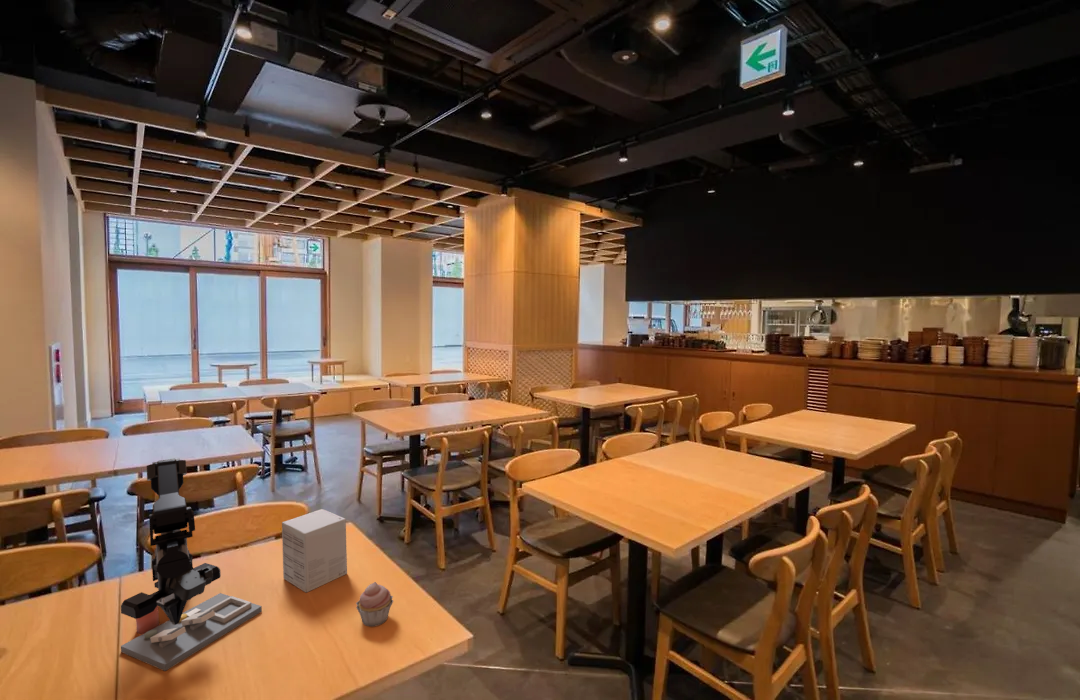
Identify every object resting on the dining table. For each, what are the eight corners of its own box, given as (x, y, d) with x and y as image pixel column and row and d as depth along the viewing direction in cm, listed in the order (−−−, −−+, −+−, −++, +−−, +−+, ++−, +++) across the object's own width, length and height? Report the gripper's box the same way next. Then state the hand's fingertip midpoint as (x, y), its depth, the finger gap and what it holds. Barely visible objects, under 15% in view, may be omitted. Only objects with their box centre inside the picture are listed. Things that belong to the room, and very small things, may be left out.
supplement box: (323, 561, 160) (322, 507, 159) (348, 573, 152) (346, 518, 151) (282, 578, 149) (280, 521, 148) (306, 593, 142) (304, 533, 140)
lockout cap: (132, 631, 124) (131, 609, 124) (152, 621, 129) (150, 600, 128) (143, 635, 123) (142, 613, 122) (163, 625, 127) (161, 604, 126)
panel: (121, 652, 117) (120, 641, 117) (220, 598, 139) (220, 588, 139) (165, 671, 111) (164, 659, 111) (261, 611, 133) (261, 601, 133)
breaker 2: (181, 626, 124) (179, 621, 124) (196, 617, 127) (195, 612, 128) (200, 623, 121) (199, 617, 121) (216, 614, 124) (214, 609, 124)
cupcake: (401, 614, 132) (401, 578, 131) (376, 634, 124) (375, 596, 123) (374, 605, 136) (373, 570, 135) (348, 624, 128) (347, 587, 127)
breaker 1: (150, 643, 117) (148, 637, 118) (167, 634, 121) (165, 628, 121) (170, 640, 114) (168, 634, 114) (187, 630, 118) (185, 625, 118)
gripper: (150, 587, 104) (153, 658, 105) (234, 548, 121) (237, 609, 122) (117, 575, 108) (121, 644, 109) (203, 539, 125) (206, 599, 126)
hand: (175, 623), depth 116 cm, fingers closed
